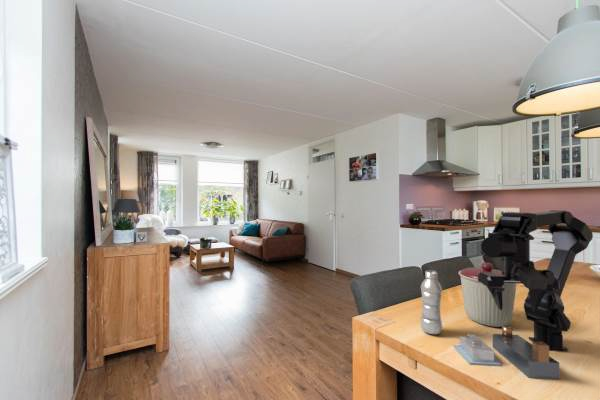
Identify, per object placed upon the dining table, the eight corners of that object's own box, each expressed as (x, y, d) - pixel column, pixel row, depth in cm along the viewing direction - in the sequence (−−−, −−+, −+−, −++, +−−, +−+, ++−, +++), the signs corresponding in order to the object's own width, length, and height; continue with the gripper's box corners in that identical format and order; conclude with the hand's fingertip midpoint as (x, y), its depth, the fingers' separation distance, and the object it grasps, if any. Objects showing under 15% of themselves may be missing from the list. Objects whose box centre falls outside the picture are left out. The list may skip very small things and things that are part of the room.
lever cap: (459, 347, 79) (459, 332, 79) (478, 347, 79) (478, 333, 79) (472, 361, 72) (472, 345, 72) (494, 362, 72) (494, 346, 72)
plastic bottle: (435, 327, 93) (435, 269, 93) (446, 337, 86) (446, 274, 86) (416, 327, 93) (416, 269, 93) (426, 337, 86) (426, 274, 86)
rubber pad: (453, 346, 81) (453, 345, 81) (481, 347, 80) (481, 346, 80) (469, 364, 72) (469, 362, 72) (501, 365, 71) (501, 364, 71)
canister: (514, 317, 101) (514, 261, 102) (524, 337, 86) (524, 271, 86) (458, 307, 111) (458, 256, 111) (458, 324, 95) (458, 264, 95)
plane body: (492, 346, 80) (491, 319, 80) (517, 347, 80) (516, 320, 80) (528, 377, 66) (528, 344, 66) (559, 379, 66) (559, 346, 66)
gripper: (501, 261, 71) (501, 320, 71) (578, 262, 69) (578, 323, 69) (476, 253, 82) (476, 304, 82) (542, 254, 80) (542, 307, 80)
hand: (517, 310), depth 78 cm, fingers open, 9 cm apart
